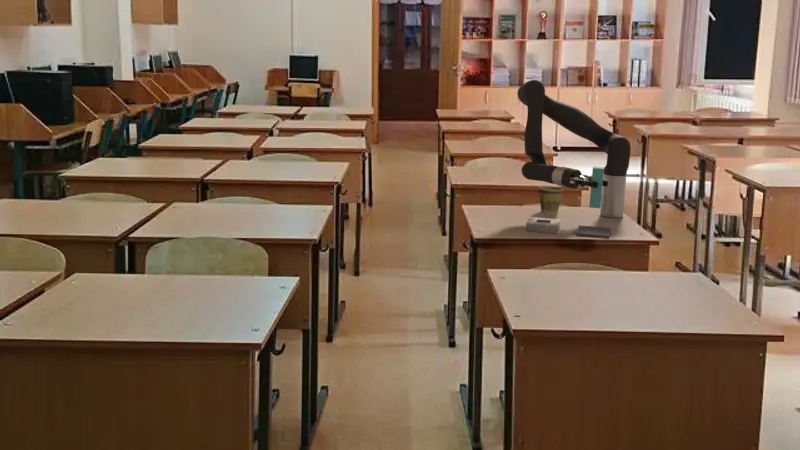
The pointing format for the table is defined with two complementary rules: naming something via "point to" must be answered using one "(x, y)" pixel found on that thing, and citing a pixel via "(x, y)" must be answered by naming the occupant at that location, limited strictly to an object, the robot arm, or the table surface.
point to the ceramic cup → (550, 198)
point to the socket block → (543, 225)
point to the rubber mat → (593, 231)
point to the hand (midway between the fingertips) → (602, 184)
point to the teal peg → (596, 192)
